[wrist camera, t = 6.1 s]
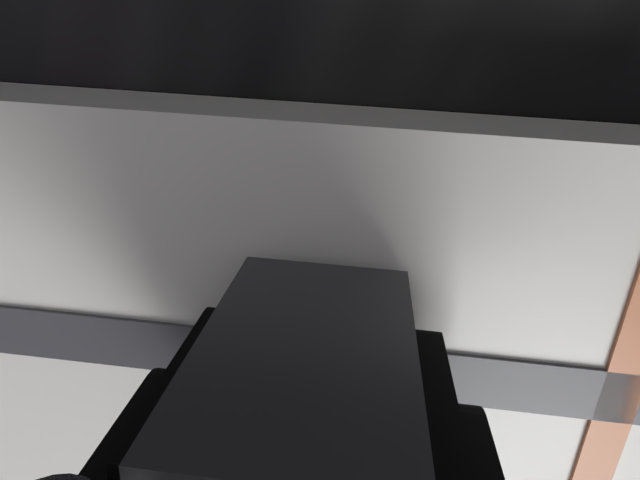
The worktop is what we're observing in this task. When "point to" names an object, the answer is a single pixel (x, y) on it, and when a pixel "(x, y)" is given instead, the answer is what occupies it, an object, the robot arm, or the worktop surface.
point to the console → (318, 255)
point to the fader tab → (295, 383)
